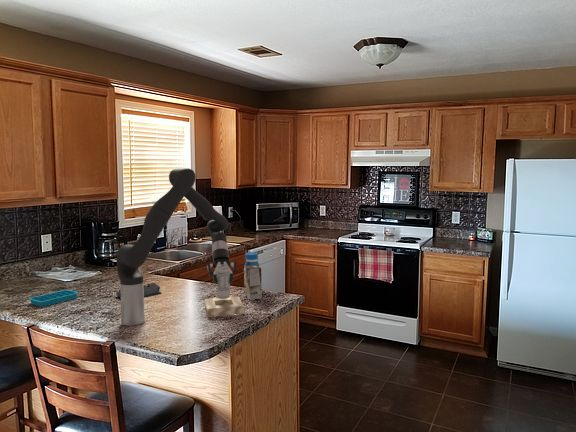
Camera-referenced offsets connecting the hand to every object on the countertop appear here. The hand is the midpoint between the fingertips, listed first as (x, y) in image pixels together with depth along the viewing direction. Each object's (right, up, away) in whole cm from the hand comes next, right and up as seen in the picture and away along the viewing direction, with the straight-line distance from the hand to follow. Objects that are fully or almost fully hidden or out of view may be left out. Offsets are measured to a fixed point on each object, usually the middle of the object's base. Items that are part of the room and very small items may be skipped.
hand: (223, 282), depth 204 cm
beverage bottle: (+10, -10, +40) cm, 43 cm away
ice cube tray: (-88, -13, +21) cm, 91 cm away
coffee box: (+12, -12, +24) cm, 29 cm away
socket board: (0, -13, +3) cm, 14 cm away
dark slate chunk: (-49, -12, +31) cm, 59 cm away
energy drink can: (0, -7, +2) cm, 8 cm away
